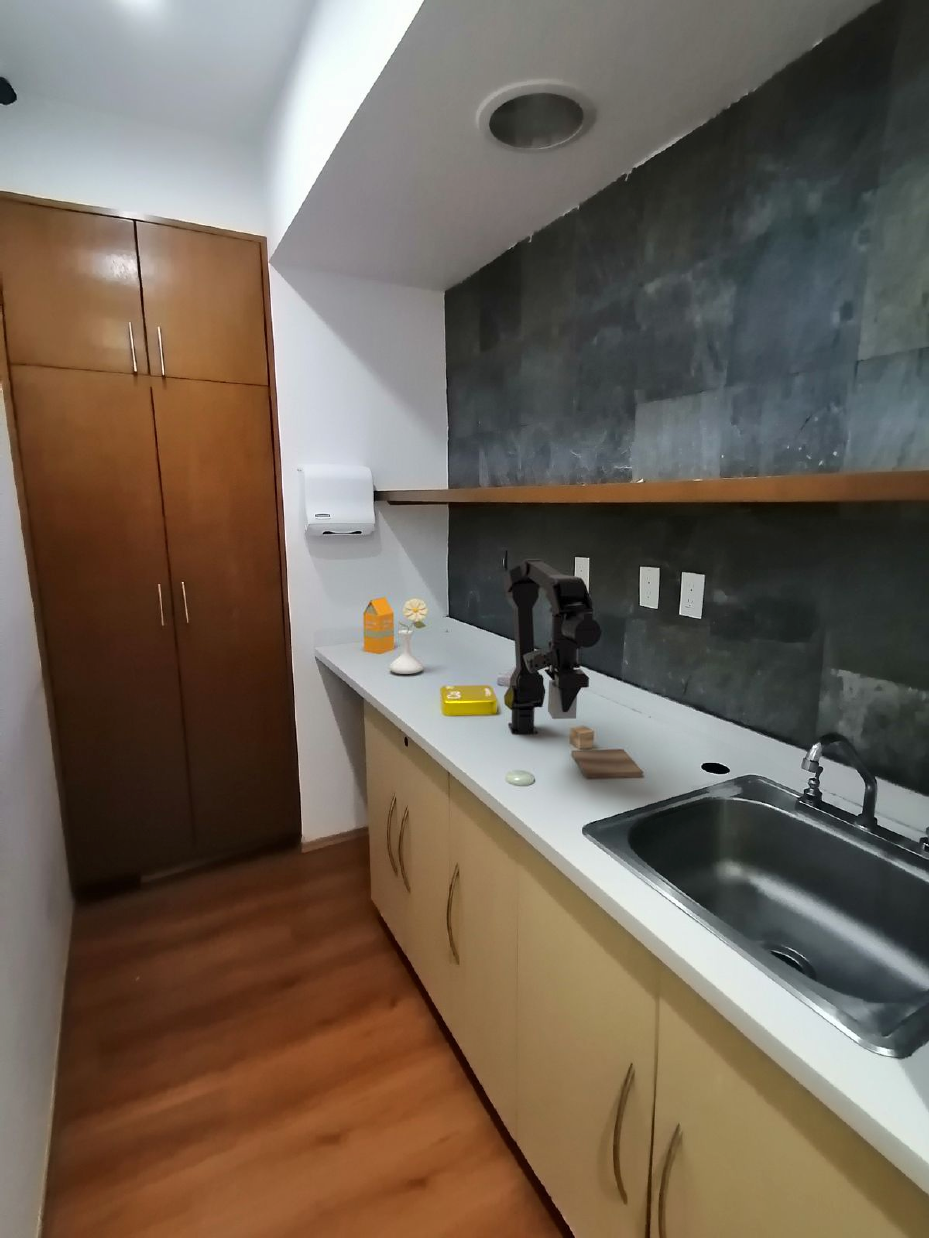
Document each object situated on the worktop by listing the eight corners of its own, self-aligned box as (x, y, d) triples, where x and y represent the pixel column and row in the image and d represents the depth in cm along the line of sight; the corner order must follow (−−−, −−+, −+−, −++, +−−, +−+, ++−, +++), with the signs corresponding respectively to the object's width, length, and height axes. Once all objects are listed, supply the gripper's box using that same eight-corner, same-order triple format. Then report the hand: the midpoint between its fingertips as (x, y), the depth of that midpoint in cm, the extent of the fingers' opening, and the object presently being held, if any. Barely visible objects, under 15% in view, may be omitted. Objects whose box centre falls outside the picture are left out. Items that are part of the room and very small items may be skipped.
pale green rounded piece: (503, 775, 132) (503, 770, 132) (530, 774, 133) (531, 769, 133) (507, 787, 126) (507, 783, 126) (536, 786, 127) (537, 782, 127)
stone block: (540, 687, 199) (515, 676, 205) (543, 674, 197) (517, 662, 203) (519, 698, 190) (493, 685, 196) (522, 683, 188) (496, 671, 194)
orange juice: (394, 649, 239) (393, 598, 236) (379, 654, 232) (378, 601, 228) (378, 646, 243) (377, 596, 240) (363, 651, 236) (362, 599, 232)
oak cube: (569, 743, 149) (570, 727, 148) (583, 740, 151) (583, 725, 150) (579, 749, 145) (580, 733, 145) (593, 746, 147) (594, 730, 146)
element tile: (498, 716, 168) (498, 699, 167) (442, 717, 167) (442, 700, 166) (490, 698, 183) (491, 683, 182) (439, 699, 181) (439, 684, 180)
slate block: (547, 711, 137) (548, 680, 135) (570, 710, 137) (571, 679, 136) (552, 718, 132) (553, 686, 130) (576, 718, 132) (577, 686, 131)
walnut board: (571, 755, 142) (571, 750, 141) (622, 753, 143) (623, 748, 143) (586, 778, 130) (587, 773, 130) (642, 776, 131) (642, 771, 131)
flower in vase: (385, 676, 204) (384, 600, 199) (393, 666, 215) (392, 595, 210) (425, 677, 202) (424, 601, 197) (431, 668, 213) (430, 596, 209)
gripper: (519, 628, 140) (518, 695, 143) (535, 647, 121) (532, 723, 124) (568, 628, 141) (566, 694, 144) (591, 647, 122) (587, 722, 125)
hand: (562, 707), depth 134 cm, fingers closed on slate block, 5 cm apart
